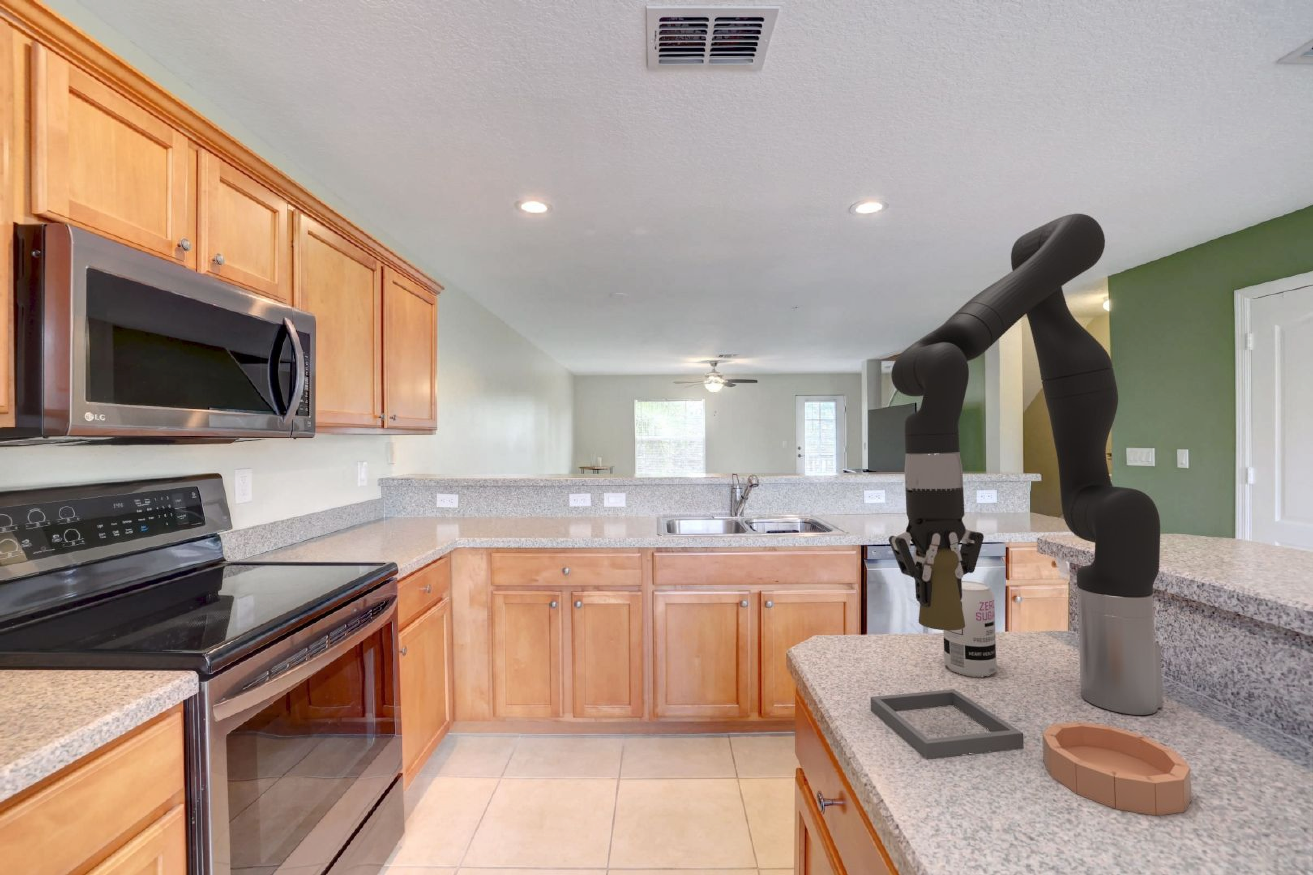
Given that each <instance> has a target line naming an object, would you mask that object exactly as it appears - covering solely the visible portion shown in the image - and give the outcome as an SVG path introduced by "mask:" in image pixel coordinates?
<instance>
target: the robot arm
mask: <svg viewBox="0 0 1313 875" xmlns="http://www.w3.org/2000/svg"><path fill="white" fill-rule="evenodd" d="M1105 245H1106V239H1105V234H1104V231H1103V228H1102V227H1101V225H1100V223H1099V222H1098V221H1097V220H1096V219H1094V217H1093V216H1090V215H1087V214H1084V213H1071V214H1066V215H1063V216H1061V217H1058V218H1056V219H1054V220H1051V221H1049V222H1047V223H1045V224H1043V225H1041V226H1039V227H1036V228H1034V229H1033V230H1031V231H1029V232H1027V233H1025V234H1022V236H1020V237H1018V238H1017V240H1016V241H1015V242H1014V243H1013V245H1012V248H1011V253H1010V264H1011V265H1010V266H1011V269H1012V271H1010V273H1007V274H1006V275H1005V276H1003V277H1002V278H1000V279H999V280H997V281H996V282H994V283H992V284H991V285H989V286H987V287H986V288H985V289H983V290H982V291H980V292H979V293H978V294H976V295H975V296H973V297H972V298H971V299H969V300H968V301H967V302H966V303H964V305H962V306H961V307H960V308H959V309H958V310H957V311H956V312H955V313H953V314H952V315H951V316H950V317H949V318H948V319H947V320H946V321H945V322H944V323H943V324H942V325H941V326H939V327H937V328H935V329H934V330H933V331H931V332H929V333H928V334H927V335H924V336H923V337H922V338H920V339H919V340H917V341H916V342H914V343H912V344H911V345H910V346H908V347H907V348H905V349H904V350H903V351H902V352H901V353H900V354H899V355H898V357H897V358H896V359H895V361H894V363H893V366H892V367H891V372H890V375H891V381H892V385H893V386H894V388H895V389H896V390H897V391H898V392H899V393H901V394H902V395H905V396H908V397H922V400H921V404H920V408H919V409H918V410H917V411H916V412H914V413H912V414H909V416H907V417H906V419H905V421H904V448H905V461H904V462H905V463H904V488H905V489H904V490H905V506H906V508H905V510H906V516H907V519H908V524H907V526H906V529H905V531H904V532H902V533H901V534H899V535H897V536H896V535H891V536H889V538H888V542H889V545H890V547H891V550H892V552H893V555H894V557H895V559H896V562H897V564H898V567H899V570H900V572H901V573H902V575H905V576H909V577H911V578H913V579H914V581H915V582H914V585H915V587H914V588H915V599H916V601H917V602H918V603H919V606H920V605H922V606H925V607H930V605H931V592H932V581H929V580H930V576H931V570H932V569H931V567H930V566H931V565H933V564H934V557H935V555H936V554H937V549H943V548H948V549H950V550H951V551H955V553H956V554H957V555H958V558H959V565H958V567H957V569H956V570H955V573H956V579H957V584H958V589H959V595H960V600H961V599H962V581H963V580H962V579H963V577H964V576H966V575H967V574H973V573H974V572H975V570H976V566H977V563H978V559H979V555H980V553H981V548H982V545H983V542H984V539H985V536H984V534H983V533H982V532H979V531H975V530H974V531H973V530H969V529H967V528H966V526H965V524H964V521H963V518H964V517H965V499H964V498H965V497H964V492H965V491H964V476H963V464H962V460H961V454H960V437H959V436H960V435H959V434H960V433H959V421H960V417H961V415H962V414H961V413H962V410H963V406H964V401H965V397H966V392H967V389H968V384H969V378H970V377H969V374H970V372H969V371H970V370H969V363H968V362H970V361H972V360H975V359H977V358H978V357H980V356H982V355H983V354H984V353H985V352H987V351H988V350H989V349H990V348H991V346H993V345H994V344H995V343H996V342H997V341H998V340H999V339H1001V337H1002V336H1003V335H1004V334H1005V333H1006V332H1007V331H1008V330H1010V329H1011V328H1012V327H1013V326H1014V325H1015V324H1017V322H1018V321H1020V320H1021V319H1022V318H1023V317H1024V316H1025V315H1026V317H1027V320H1028V323H1029V328H1030V332H1031V336H1032V340H1033V344H1034V349H1035V354H1036V358H1037V362H1038V367H1039V373H1040V380H1041V385H1042V389H1043V390H1042V391H1043V393H1044V400H1045V403H1046V408H1047V411H1048V415H1049V420H1050V425H1051V431H1052V437H1053V441H1054V447H1055V452H1056V458H1057V466H1058V474H1059V475H1058V477H1059V488H1060V489H1059V490H1060V502H1061V504H1060V505H1061V510H1062V511H1061V512H1062V516H1063V518H1064V521H1065V525H1066V526H1067V528H1068V529H1069V531H1070V532H1071V533H1072V534H1073V535H1074V536H1076V537H1078V538H1079V539H1081V540H1084V541H1087V542H1091V543H1094V558H1093V561H1092V562H1091V563H1090V564H1088V565H1084V566H1081V567H1079V568H1078V569H1077V571H1076V595H1077V596H1076V598H1077V601H1076V602H1077V603H1076V604H1077V623H1078V624H1077V626H1078V651H1079V658H1078V659H1079V680H1080V683H1079V684H1080V697H1082V699H1084V700H1085V701H1087V702H1088V703H1090V704H1092V705H1094V706H1097V707H1099V708H1102V709H1105V710H1108V711H1112V712H1114V713H1115V712H1116V713H1120V714H1125V715H1127V714H1128V715H1133V716H1134V715H1135V716H1136V715H1137V716H1145V715H1152V714H1155V713H1156V712H1158V709H1160V708H1163V707H1164V704H1163V703H1164V702H1163V701H1164V700H1163V680H1162V679H1163V678H1162V677H1163V675H1162V674H1163V673H1162V650H1161V649H1162V647H1161V645H1160V643H1159V642H1157V641H1156V638H1155V615H1154V614H1155V613H1154V584H1155V582H1156V579H1157V577H1158V575H1159V571H1160V562H1161V561H1160V557H1161V555H1160V554H1161V551H1160V550H1161V521H1160V520H1161V519H1160V513H1159V511H1158V508H1157V505H1156V504H1155V502H1154V500H1153V499H1152V498H1151V497H1150V496H1149V495H1148V494H1147V493H1145V492H1143V491H1141V490H1138V489H1135V488H1131V487H1123V486H1113V483H1112V481H1111V480H1112V479H1111V475H1110V472H1109V466H1108V463H1107V462H1108V461H1107V450H1106V449H1107V443H1108V440H1109V435H1110V432H1111V430H1112V427H1113V424H1114V421H1115V419H1116V415H1117V411H1118V405H1119V391H1118V386H1117V382H1116V376H1115V371H1114V368H1113V366H1114V365H1113V363H1112V359H1111V357H1110V355H1109V353H1108V352H1107V350H1106V349H1105V347H1104V346H1103V345H1102V344H1101V343H1100V342H1099V341H1098V340H1097V339H1096V338H1095V337H1094V336H1093V335H1092V334H1091V333H1090V332H1088V330H1087V329H1085V328H1084V327H1083V326H1082V325H1081V323H1079V322H1078V321H1077V319H1075V317H1074V316H1073V314H1072V313H1071V311H1070V310H1069V307H1068V304H1067V302H1066V298H1065V294H1064V291H1063V286H1064V285H1066V284H1068V282H1070V281H1072V280H1074V279H1075V278H1076V277H1079V276H1080V275H1082V274H1083V273H1085V272H1087V271H1088V270H1090V269H1091V268H1092V267H1094V266H1095V265H1096V264H1097V263H1098V262H1099V261H1100V260H1101V257H1102V256H1103V254H1104V250H1105V248H1106V247H1105ZM911 543H912V545H913V546H914V550H913V554H912V553H911V550H910V549H911V548H912V545H911ZM960 543H961V546H960V547H959V545H960ZM919 553H922V554H925V555H926V557H925V558H923V557H920V556H919ZM931 556H932V557H931ZM920 562H921V563H922V566H921V564H920Z"/></svg>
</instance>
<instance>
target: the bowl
mask: <svg viewBox="0 0 1313 875" xmlns="http://www.w3.org/2000/svg"><path fill="white" fill-rule="evenodd" d="M1042 754H1043V755H1042V758H1043V763H1044V765H1045V767H1046V769H1047V771H1048V772H1049V775H1050V777H1052V778H1053V779H1055V780H1056V781H1057V782H1059V783H1060V784H1062V785H1063V786H1064V787H1066V788H1067V789H1069V790H1071V791H1072V792H1073V793H1075V794H1077V795H1079V796H1081V797H1083V798H1087V799H1089V800H1091V801H1094V802H1097V803H1100V804H1102V805H1104V806H1107V807H1110V808H1112V809H1116V810H1120V811H1126V812H1127V811H1128V812H1131V813H1132V812H1133V813H1139V814H1145V815H1148V816H1155V817H1156V816H1165V815H1173V814H1178V813H1180V814H1181V813H1185V812H1186V810H1187V808H1188V806H1189V805H1190V802H1191V800H1192V782H1191V781H1192V780H1191V778H1192V777H1191V767H1190V765H1189V764H1188V763H1187V762H1186V761H1185V760H1184V759H1183V757H1181V756H1180V755H1179V754H1178V753H1177V751H1175V750H1173V749H1172V748H1170V747H1168V746H1166V745H1163V744H1162V743H1160V742H1157V741H1156V740H1154V739H1152V738H1150V737H1148V736H1145V735H1144V734H1140V733H1139V734H1138V733H1136V732H1133V731H1132V732H1131V731H1130V730H1126V729H1122V728H1118V727H1116V726H1113V725H1112V726H1111V725H1107V724H1099V723H1091V722H1084V721H1069V722H1060V723H1059V722H1058V723H1052V724H1051V725H1050V726H1049V727H1048V728H1046V729H1045V730H1044V731H1043V732H1042Z"/></svg>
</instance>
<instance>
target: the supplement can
mask: <svg viewBox="0 0 1313 875" xmlns="http://www.w3.org/2000/svg"><path fill="white" fill-rule="evenodd" d="M990 587H991V586H990V585H988V584H985V583H982V582H977V581H971V580H962V599H961V605H962V610H963V616H964V621H965V628H963V629H960V630H942V632H943V654H944V655H943V656H944V657H943V658H944V659H943V660H944V665H945V666H946V667H947V668H948V669H949V670H950V671H951V670H952V672H953V671H954V673H955V672H957V673H956V674H958V673H959V674H958V675H961V674H962V676H965V675H966V676H965V677H970V676H977V677H976V678H983V677H982V676H987V677H991V676H992V675H993V674H994V673H995V672H996V671H997V668H998V667H997V643H996V641H997V640H996V638H997V637H996V612H995V609H996V606H995V595H994V593H993V592H992V590H991V588H990ZM992 673H993V674H992ZM991 674H992V675H991ZM990 675H991V676H990ZM978 676H979V677H978Z"/></svg>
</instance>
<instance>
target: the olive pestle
mask: <svg viewBox="0 0 1313 875" xmlns="http://www.w3.org/2000/svg"><path fill="white" fill-rule="evenodd" d="M919 556H920V557H923V558H925V557H926V555H925V554H922V553H919ZM931 557H932V556H931ZM920 564H921V566H922V563H921V562H920ZM958 565H959V558H958V555H957V554H956V553H955V551H951V550H950V549H948V548H943V549H937V554H936V555H935V557H934V564H933V565H931V566H930V567H931V569H932V570H931V576H930V580H929V581H932V592H931V605H930V607H925V606H922V605H920V604H919V611H918V612H919V613H918V624H920V625H921V626H923V627H926V628H928V629H932V630H939V631H943V630H960V629H963V628H965V621H964V616H963V610H962V605H961V600H960V595H959V589H958V584H957V579H956V573H955V570H956V569H957V567H958Z"/></svg>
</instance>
